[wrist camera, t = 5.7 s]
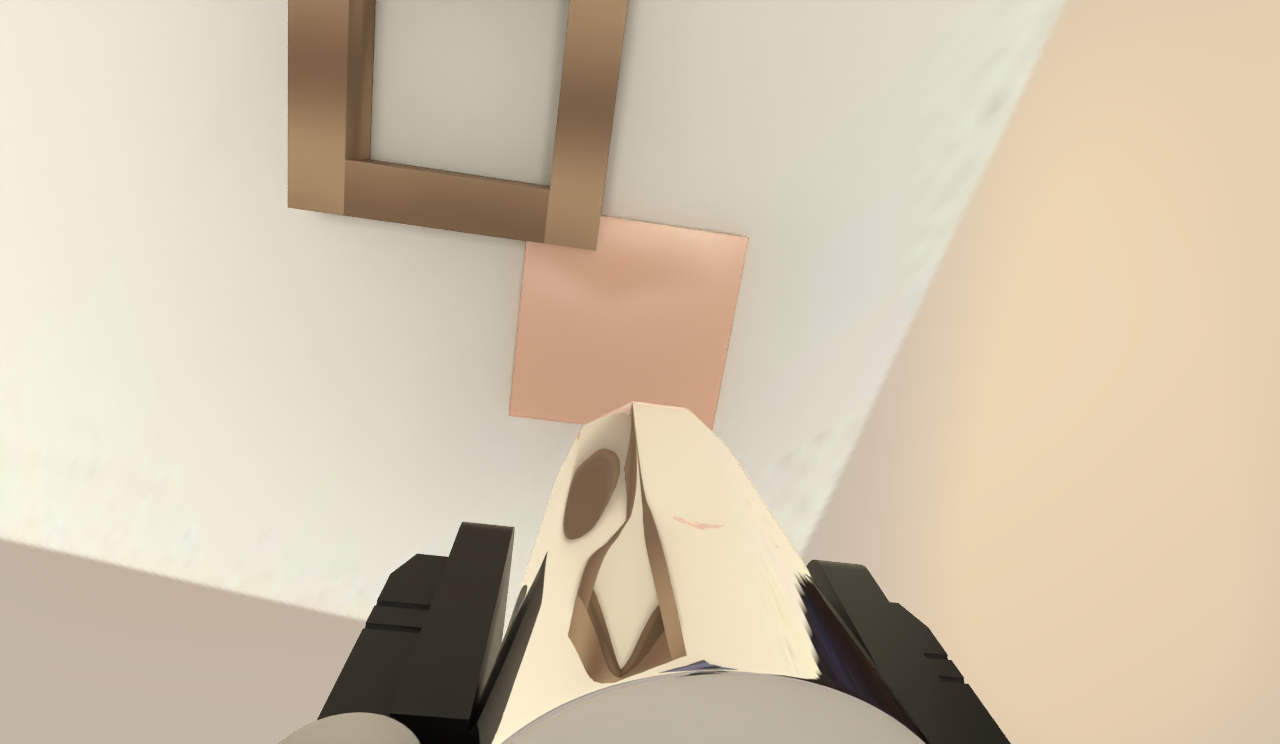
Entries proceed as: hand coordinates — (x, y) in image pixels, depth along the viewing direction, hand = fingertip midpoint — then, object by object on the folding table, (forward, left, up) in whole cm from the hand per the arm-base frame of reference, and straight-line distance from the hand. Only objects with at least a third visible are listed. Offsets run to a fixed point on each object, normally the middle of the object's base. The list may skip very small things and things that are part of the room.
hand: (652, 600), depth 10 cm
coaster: (0, 0, -17) cm, 17 cm away
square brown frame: (-8, -6, -17) cm, 20 cm away
